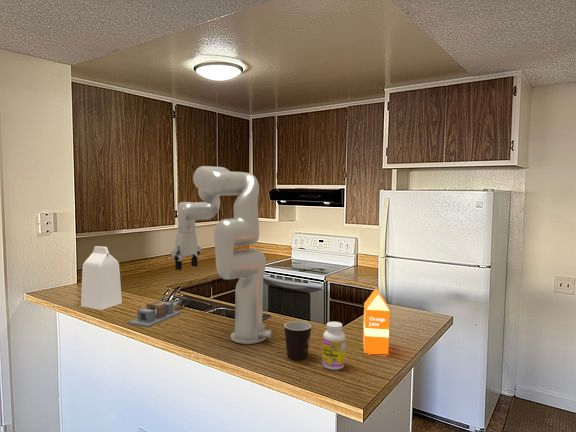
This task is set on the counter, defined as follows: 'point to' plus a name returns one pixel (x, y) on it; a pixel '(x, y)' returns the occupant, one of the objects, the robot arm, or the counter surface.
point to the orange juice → (376, 324)
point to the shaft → (181, 302)
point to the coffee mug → (297, 339)
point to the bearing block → (153, 316)
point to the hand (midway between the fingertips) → (186, 268)
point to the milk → (100, 280)
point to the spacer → (159, 306)
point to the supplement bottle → (333, 346)
